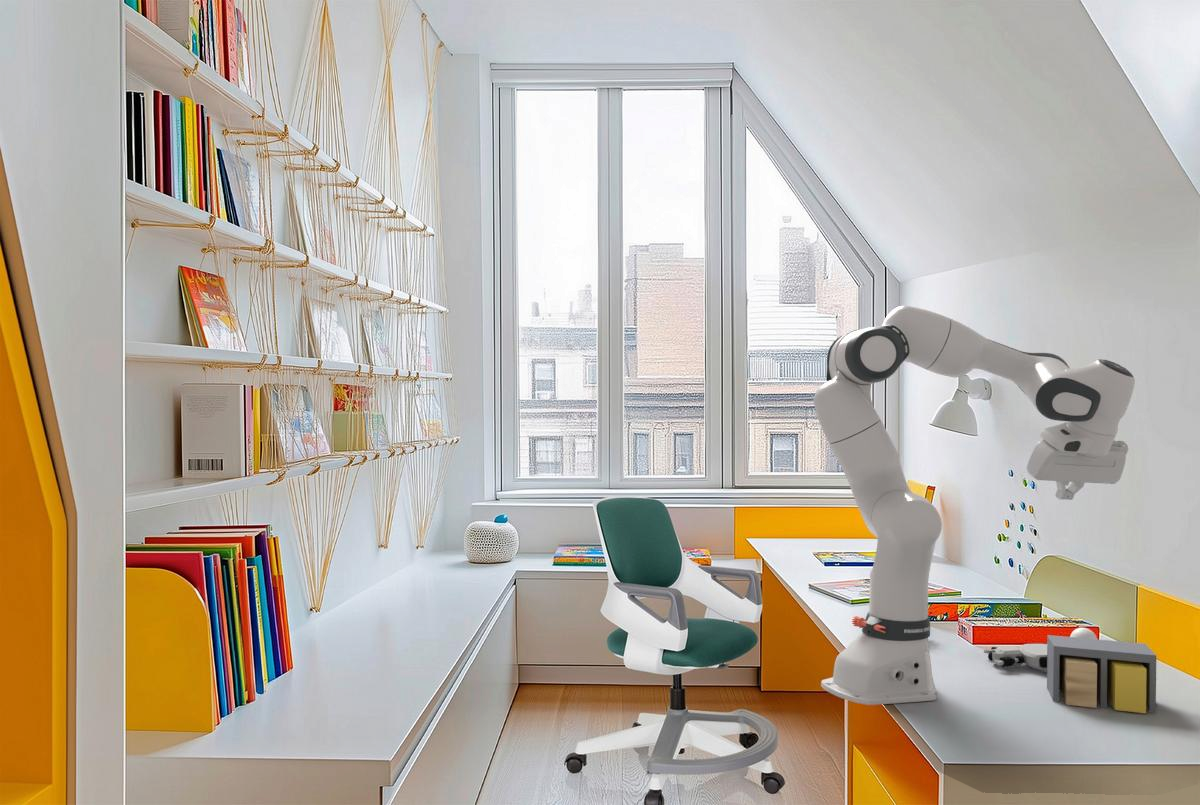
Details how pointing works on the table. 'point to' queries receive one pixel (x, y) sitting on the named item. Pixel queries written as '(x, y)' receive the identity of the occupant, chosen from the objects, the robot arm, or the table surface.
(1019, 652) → the robot toy
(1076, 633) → the white egg
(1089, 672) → the light wood block
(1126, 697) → the yellow rectangular block
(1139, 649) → the grey slotted holder
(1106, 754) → the table surface
